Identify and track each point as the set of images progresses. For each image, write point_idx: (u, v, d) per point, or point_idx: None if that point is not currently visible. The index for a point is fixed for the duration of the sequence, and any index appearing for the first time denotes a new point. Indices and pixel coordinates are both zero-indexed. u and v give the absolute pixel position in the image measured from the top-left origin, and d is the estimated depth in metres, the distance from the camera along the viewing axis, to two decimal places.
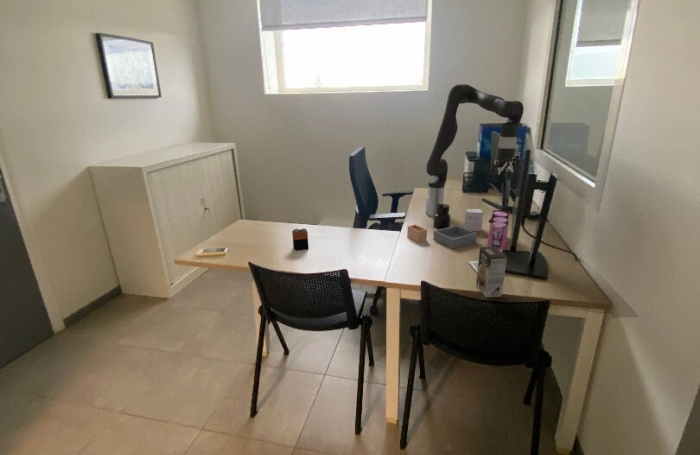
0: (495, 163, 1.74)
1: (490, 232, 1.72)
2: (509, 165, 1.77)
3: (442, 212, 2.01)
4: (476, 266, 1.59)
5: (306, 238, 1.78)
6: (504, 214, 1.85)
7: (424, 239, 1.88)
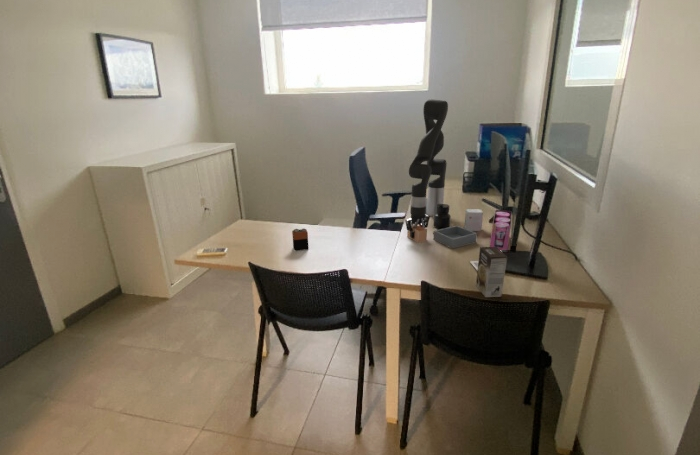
0: (407, 222, 1.84)
1: (493, 232, 1.72)
2: (421, 222, 1.87)
3: (442, 212, 2.01)
4: (477, 266, 1.59)
5: (306, 238, 1.78)
6: (506, 214, 1.85)
7: (424, 239, 1.88)
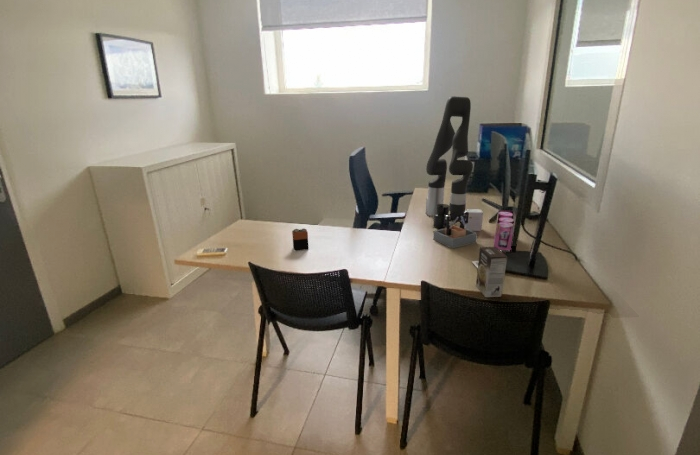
0: (446, 218, 1.80)
1: (497, 232, 1.72)
2: (460, 219, 1.83)
3: (442, 212, 2.01)
4: None
5: (306, 238, 1.78)
6: (510, 214, 1.85)
7: None
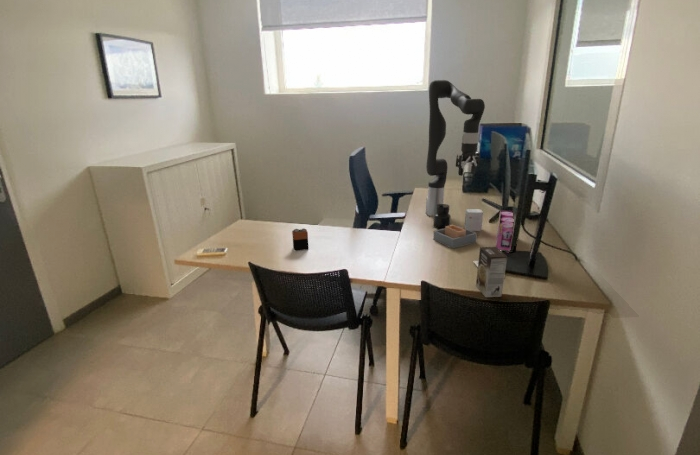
0: (458, 157, 1.85)
1: (499, 232, 1.72)
2: (472, 159, 1.88)
3: (442, 212, 2.01)
4: None
5: (306, 238, 1.78)
6: (512, 214, 1.85)
7: None
